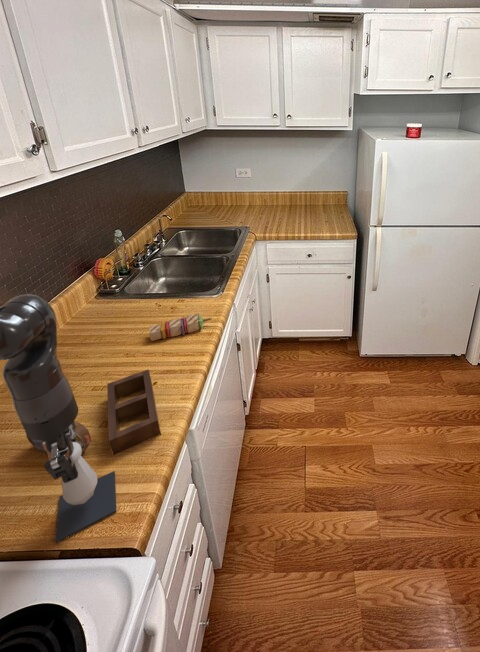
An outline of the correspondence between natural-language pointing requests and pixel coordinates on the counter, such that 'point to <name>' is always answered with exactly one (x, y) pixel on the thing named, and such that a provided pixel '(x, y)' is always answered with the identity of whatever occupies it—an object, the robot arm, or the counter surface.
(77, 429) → the tin
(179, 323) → the skewer
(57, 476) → the robot arm
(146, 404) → the rack
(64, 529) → the mat
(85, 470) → the salt shaker
